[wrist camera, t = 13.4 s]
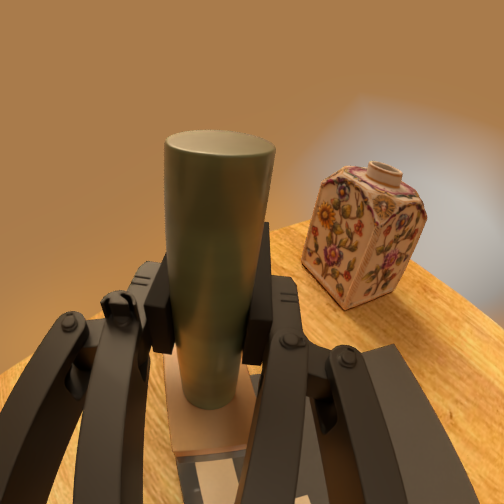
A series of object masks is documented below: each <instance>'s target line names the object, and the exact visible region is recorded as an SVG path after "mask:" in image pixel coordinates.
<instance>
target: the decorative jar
mask: <svg viewBox="0 0 504 504" xmlns="http://www.w3.org/2000/svg"><path fill="white" fill-rule="evenodd" d="M402 175H403V174H402V172H401V171H400V170H398V169H396V168H394V167H392V166H390V165H387V164H384V163H381V162H376V161H370V162H369V164H368V168H364V167H355V166H345V167H343V168H342V169H340V170H339V171H337V172H335V173H334V174H332V175H331V176H329V177H328V178H326V179H325V180H323V181H322V182H321V186H320V189H319V193H318V196H317V200H316V204H315V207H314V211H313V215H312V218H311V222H310V226H309V230H308V233H307V237H306V241H305V245H304V249H303V254H302V258H301V262H302V263H303V265H304V266H305V267H306V268H307V269H308V270H309V271H310V272H311V273H312V274H313V275H314V277H315V278H316V279H317V280H318V281H319V282H320V283H321V284H322V286H323V287H324V288H325V289H326V290H327V291H328V292H329V294H330V295H331V296H332V297H333V298H334V299H335V300H336V302H337V303H338V304H339V305H340V306H341V307H342V308H343V309H344V310H347V309H349V308H352V307H355V306H358V305H360V304H363V303H365V302H368V301H370V300H373V299H375V298H377V297H380V296H382V295H384V294H387V293H389V292H392V291H393V290H394V289H395V288H396V286H397V284H398V283H399V281H400V279H401V277H402V275H403V273H404V271H405V269H406V267H407V265H408V263H409V260H410V258H411V256H412V253H413V252H414V249H415V247H416V245H417V243H418V240H419V238H420V235H421V233H422V230H423V228H424V226H425V223H426V221H427V214H426V211H425V209H424V204H423V201H422V200H421V199H420V197H419V195H418V193H417V191H416V190H415V189H413V188H412V187H410V186H409V185H407V184H405V183H404V182H402V181H401V180H402Z"/></svg>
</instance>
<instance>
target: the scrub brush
mask: <svg viewBox="0 0 504 504" xmlns="http://www.w3.org/2000/svg"><path fill="white" fill-rule="evenodd" d="M275 152H276V148H275V146H274V145H273V144H272V143H271V142H269V141H267V140H265V139H263V138H260V137H257V136H254V135H250V134H245V133H240V132H233V131H222V130H196V131H187V132H181V133H178V134H174V135H172V136H170V137H168V138H167V139H166V140H165V143H164V204H165V232H166V251H167V266H168V279H169V291H170V301H171V311H172V320H173V329H174V337H175V344H174V348H173V352H172V355H168V354H163V363H164V378H165V391H166V402H167V412H168V421H169V430H170V438H171V445H172V451H173V453H174V455H175V457H176V459H177V461H178V463H194V462H205V461H215V460H223V459H230V458H237V457H243V456H245V452H246V448H247V443H248V438H249V433H250V428H251V423H252V418H253V413H254V407H255V402H256V396H255V393H254V389H253V386H252V382H251V378H250V375H249V371H248V368H247V365H246V364H242V351H243V344H244V338H245V333H246V327H247V321H248V315H249V309H250V303H251V299H252V293H253V287H254V281H255V275H256V269H257V263H258V257H259V251H260V245H261V239H262V233H263V227H264V220H265V214H266V208H267V202H268V196H269V190H270V183H271V176H272V170H273V164H274V158H275Z"/></svg>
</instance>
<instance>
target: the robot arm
mask: <svg viewBox="0 0 504 504" xmlns="http://www.w3.org/2000/svg"><path fill="white" fill-rule="evenodd" d="M100 303H101V306H102V309H103V313H104V316H105V318H103V319H95V320H85V318H84V316H83V315H82V314H81V313H79V312H75V311H71V312H66V313H64V314H62V315H61V316H60V317H59V318H58V319H57V320H56V321H55V323H54V324H53V326H52V328H51V329H50V330H49V332H48V333H47V335H46V336H45V337H44V339H43V341H42V342H41V344H40V345H39V347H38V348H37V350H36V351H35V353H34V354H33V356H32V358H31V359H30V361H29V362H28V364H27V366H26V367H25V369H24V371H23V372H22V374H21V376H20V377H19V379H18V381H17V383H16V384H15V386H14V388H13V390H12V392H11V393H10V395H9V397H8V399H7V401H6V403H5V405H4V407H3V409H2V411H1V413H0V504H46V503H47V500H48V497H49V494H50V491H51V488H52V485H53V483H54V480H55V477H56V474H57V472H58V469H59V466H60V464H61V461H62V459H63V456H64V453H65V451H66V448H67V446H68V444H69V441H70V439H71V436H72V434H73V432H74V429H75V427H76V425H77V422H78V420H79V418H80V416H81V413H82V411H83V414H82V420H81V426H80V433H79V439H78V447H77V455H76V464H75V476H74V490H73V504H143V446H144V427H145V412H146V400H147V389H148V379H149V370H150V356H149V352H150V349H151V346H152V347H153V352H157V353H162V354H168V355H172V352H173V348H174V344H175V337H174V329H173V320H172V311H171V301H170V291H169V279H168V266H167V251H166V254H165V256H164V258H163V260H162V263H157V262H150V261H146V262H145V263H144V264H142V265H141V266H140V267H139V268H138V270H137V272H136V274H135V276H134V278H133V280H132V282H131V284H130V286H129V288H128V290H127V291H122V290H120V291H114V292H111V293H108V294H107V295H106V296H104V297H103V299H102V300H101V302H100ZM242 364H246V365H258V366H261V364H262V372H261V376H260V379H259V382H258V392H257V397H256V402H255V407H254V413H253V418H252V423H251V428H250V433H249V438H248V443H247V448H246V452H245V457H244V462H243V467H242V471H241V476H240V480H239V485H238V489H237V494H236V498H235V503H234V504H295V497H296V490H297V483H298V475H299V467H300V458H301V449H302V439H303V429H304V417H305V405H306V396H307V397H309V400H310V404H311V409H312V414H313V419H314V424H315V429H316V434H317V439H318V444H319V449H320V455H321V460H322V465H323V471H324V476H325V481H326V487H327V492H328V498H329V504H408V500H407V496H406V492H405V488H404V484H403V480H402V476H401V472H400V468H399V465H398V461H397V458H396V454H395V451H394V447H393V444H392V440H391V437H390V434H389V431H388V427H387V424H386V421H385V418H384V415H383V412H382V409H381V406H380V403H379V400H378V397H377V394H376V391H375V388H374V385H373V382H372V379H371V376H370V374H369V371H368V368H367V365H366V363H365V360H364V357H363V356H362V354H361V352H359V351H358V350H357V349H356V348H354V347H352V346H349V345H339V346H336V347H335V348H334V349H332V350H329V349H326V348H322V347H319V346H317V345H315V344H313V343H312V342H310V341H309V340H308V338H307V337H306V336H305V334H304V333H303V329H302V322H301V314H300V306H299V299H298V292H297V285H296V284H295V282H294V281H293V280H292V278H291V277H285V276H275V275H271V258H270V237H269V222H264V227H263V233H262V239H261V245H260V251H259V257H258V263H257V269H256V275H255V281H254V287H253V293H252V299H251V303H250V309H249V315H248V321H247V327H246V333H245V338H244V344H243V351H242Z"/></svg>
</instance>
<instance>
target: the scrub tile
mask: <svg viewBox="0 0 504 504" xmlns="http://www.w3.org/2000/svg"><path fill="white" fill-rule="evenodd" d="M361 354H362V356H363V357H364V360H365V363H366V365H367V368H368V371H369V374H370V376H371V379H372V382H373V385H374V388H375V391H376V394H377V397H378V400H379V403H380V406H381V409H382V412H383V415H384V418H385V421H386V424H387V427H388V431H389V434H390V437H391V440H392V444H393V447H394V451H395V454H396V458H397V461H398V465H399V468H400V472H401V476H402V480H403V484H404V488H405V492H406V496H407V500H408V504H480V503H479V500H478V498H477V496H476V493H475V491H474V489H473V486H472V484H471V482H470V480H469V478H468V475H467V473H466V471H465V469H464V467H463V465H462V463H461V461H460V459H459V457H458V455H457V453H456V451H455V449H454V447H453V445H452V443H451V441H450V439H449V437H448V435H447V433H446V431H445V429H444V428H443V426H442V424H441V422H440V420H439V418H438V417H437V415H436V413H435V411H434V409H433V408H432V406H431V404H430V402H429V400H428V399H427V397H426V395H425V394H424V392H423V390H422V388H421V387H420V385H419V383H418V382H417V380H416V378H415V377H414V375H413V373H412V372H411V370H410V368H409V367H408V365H407V363H406V362H405V360H404V359H403V357H402V355H401V354H400V352H399V351H398V349H397V348H396V346H395V344H391V345H387V346H384V347H381V348H377V349H374V350H370V351H366V352H363V353H361ZM260 376H261V374H255V375H250V378H251V382H252V386H253V389H254V393H255V396H256V397H257V392H258V382H259V379H260ZM244 457H245V456H243V457H237V458H230V459H223V460H215V461H205V462H194V463H178V461H177V459H176V463H177V469H178V475H179V481H180V486H181V491H182V496H183V501H184V504H234V503H235V498H236V494H237V489H238V485H239V480H240V476H241V471H242V467H243V462H244ZM295 504H329V498H328V492H327V487H326V481H325V476H324V471H323V465H322V460H321V455H320V449H319V444H318V439H317V434H316V429H315V424H314V419H313V414H312V409H311V404H310V400H309V397H307V396H306V405H305V417H304V429H303V439H302V449H301V458H300V467H299V475H298V483H297V490H296V497H295Z"/></svg>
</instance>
